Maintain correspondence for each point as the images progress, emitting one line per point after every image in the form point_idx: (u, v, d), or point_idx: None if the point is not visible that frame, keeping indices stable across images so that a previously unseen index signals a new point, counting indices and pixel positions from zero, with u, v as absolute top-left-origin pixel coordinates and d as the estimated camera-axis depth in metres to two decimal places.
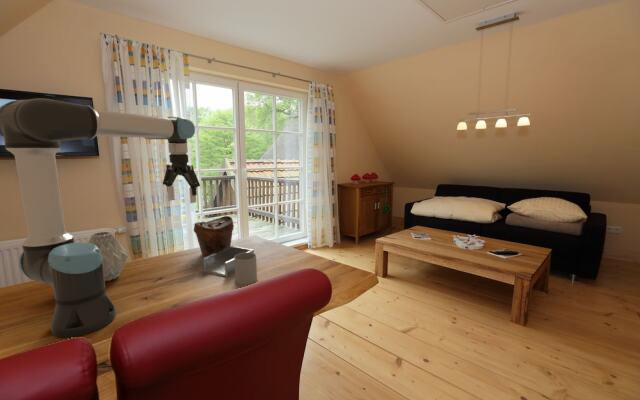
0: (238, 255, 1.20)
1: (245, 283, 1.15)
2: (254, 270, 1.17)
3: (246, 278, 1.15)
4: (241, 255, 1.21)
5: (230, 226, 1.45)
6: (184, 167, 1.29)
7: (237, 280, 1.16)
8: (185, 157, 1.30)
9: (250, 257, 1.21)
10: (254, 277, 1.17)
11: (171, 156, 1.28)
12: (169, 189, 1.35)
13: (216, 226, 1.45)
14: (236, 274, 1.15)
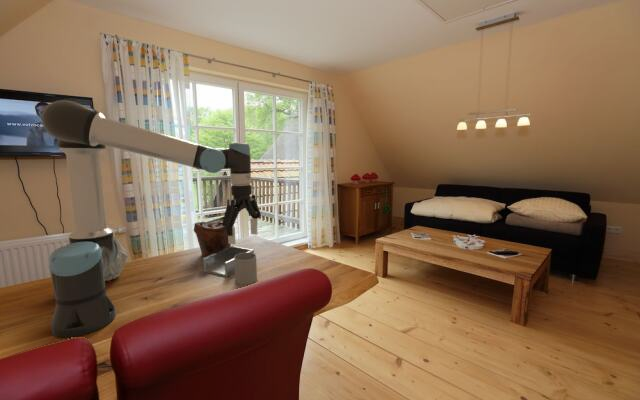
0: (238, 255, 1.20)
1: (245, 283, 1.15)
2: (254, 270, 1.17)
3: (246, 278, 1.15)
4: (241, 255, 1.21)
5: None
6: None
7: (237, 280, 1.16)
8: (235, 189, 1.10)
9: (250, 257, 1.21)
10: (254, 277, 1.17)
11: None
12: (251, 221, 1.22)
13: (216, 226, 1.45)
14: (236, 274, 1.15)
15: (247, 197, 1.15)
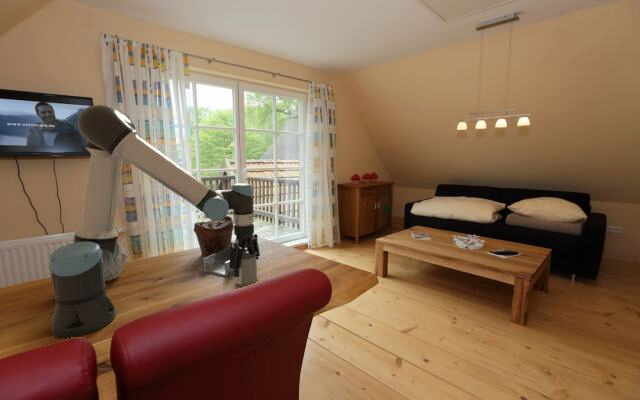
0: None
1: (245, 283, 1.15)
2: (254, 270, 1.17)
3: (246, 278, 1.15)
4: None
5: (230, 226, 1.45)
6: (236, 241, 1.13)
7: None
8: (237, 230, 1.12)
9: (250, 257, 1.21)
10: (254, 277, 1.17)
11: None
12: None
13: (216, 226, 1.45)
14: None
15: (249, 235, 1.17)
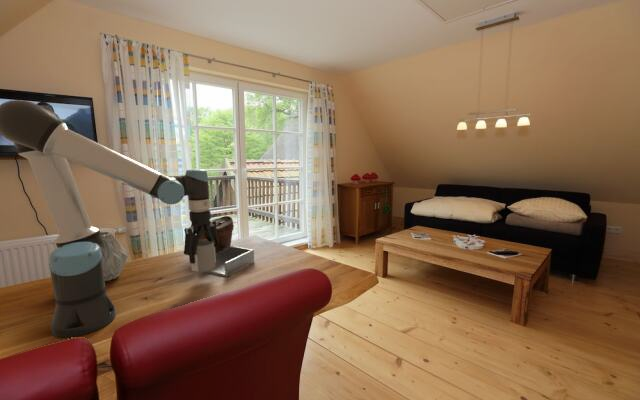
0: None
1: (202, 269, 1.14)
2: (211, 256, 1.16)
3: (202, 264, 1.14)
4: (199, 242, 1.20)
5: (230, 226, 1.45)
6: (191, 227, 1.12)
7: None
8: (192, 216, 1.11)
9: (209, 244, 1.20)
10: (211, 264, 1.16)
11: None
12: None
13: (216, 226, 1.45)
14: None
15: (206, 222, 1.16)
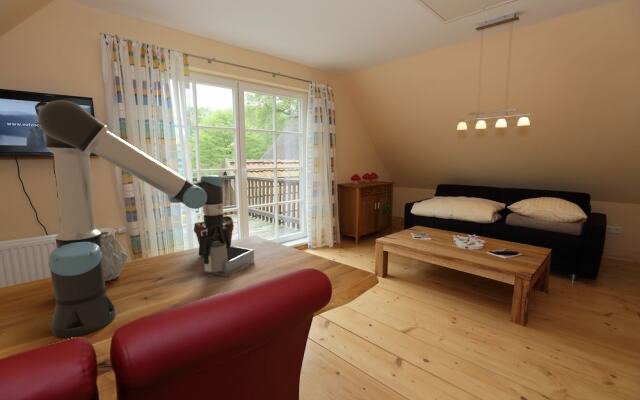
0: None
1: (215, 270, 1.20)
2: (224, 258, 1.22)
3: (215, 265, 1.20)
4: (212, 244, 1.26)
5: (230, 226, 1.45)
6: (205, 229, 1.18)
7: None
8: (206, 219, 1.17)
9: (221, 246, 1.27)
10: (224, 264, 1.22)
11: None
12: None
13: None
14: None
15: (219, 225, 1.23)
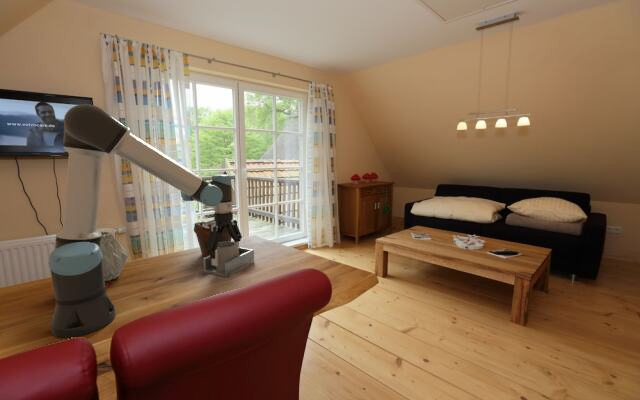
0: (219, 244, 1.31)
1: (224, 269, 1.26)
2: (233, 257, 1.27)
3: None
4: (221, 244, 1.31)
5: None
6: None
7: (217, 266, 1.26)
8: (217, 217, 1.23)
9: (230, 246, 1.32)
10: None
11: None
12: None
13: None
14: None
15: (229, 222, 1.28)
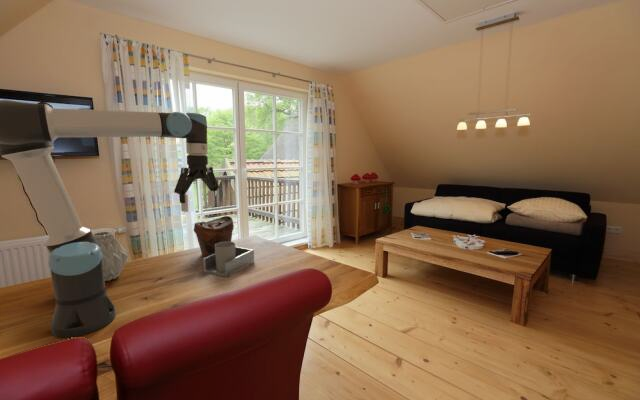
0: (219, 243, 1.31)
1: (224, 269, 1.26)
2: (233, 257, 1.27)
3: None
4: (221, 244, 1.31)
5: (230, 226, 1.45)
6: None
7: (217, 266, 1.26)
8: (189, 158, 1.13)
9: (230, 246, 1.32)
10: None
11: None
12: (208, 194, 1.24)
13: (216, 226, 1.45)
14: (216, 260, 1.26)
15: (203, 168, 1.18)
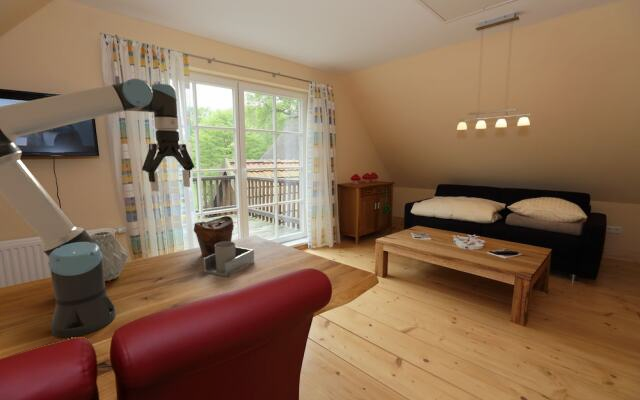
0: (219, 244, 1.31)
1: (224, 269, 1.26)
2: (233, 257, 1.27)
3: None
4: (221, 244, 1.31)
5: (230, 226, 1.45)
6: None
7: (217, 266, 1.26)
8: (158, 134, 1.05)
9: (230, 246, 1.32)
10: None
11: None
12: (183, 173, 1.17)
13: (216, 226, 1.45)
14: (216, 261, 1.26)
15: (175, 145, 1.10)
